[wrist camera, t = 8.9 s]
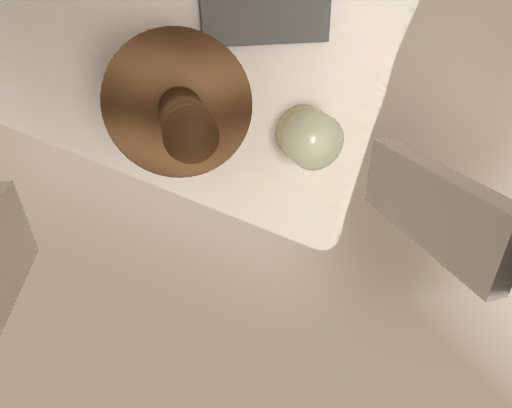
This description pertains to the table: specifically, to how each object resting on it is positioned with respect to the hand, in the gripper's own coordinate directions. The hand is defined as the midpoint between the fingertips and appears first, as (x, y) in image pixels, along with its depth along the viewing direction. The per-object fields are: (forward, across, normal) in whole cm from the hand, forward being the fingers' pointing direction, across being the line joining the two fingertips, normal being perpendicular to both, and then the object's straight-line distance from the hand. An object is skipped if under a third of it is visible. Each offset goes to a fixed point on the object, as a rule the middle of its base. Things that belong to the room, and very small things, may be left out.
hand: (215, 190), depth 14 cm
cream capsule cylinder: (+26, +14, -7) cm, 30 cm away
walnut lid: (+16, 0, 0) cm, 16 cm away
